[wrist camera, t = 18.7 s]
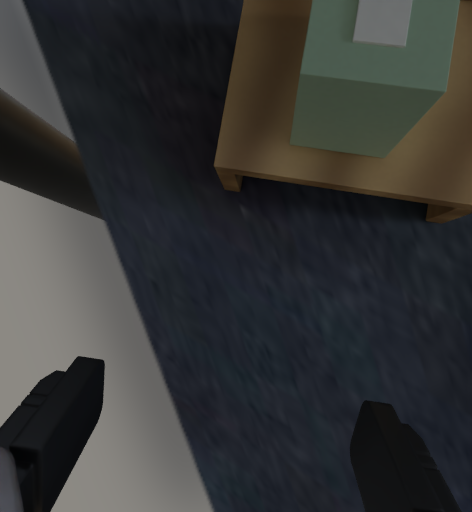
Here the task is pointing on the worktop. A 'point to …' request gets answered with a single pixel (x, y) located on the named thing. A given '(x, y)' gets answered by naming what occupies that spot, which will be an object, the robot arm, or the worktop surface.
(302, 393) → the worktop surface
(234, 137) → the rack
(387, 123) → the tissue box
